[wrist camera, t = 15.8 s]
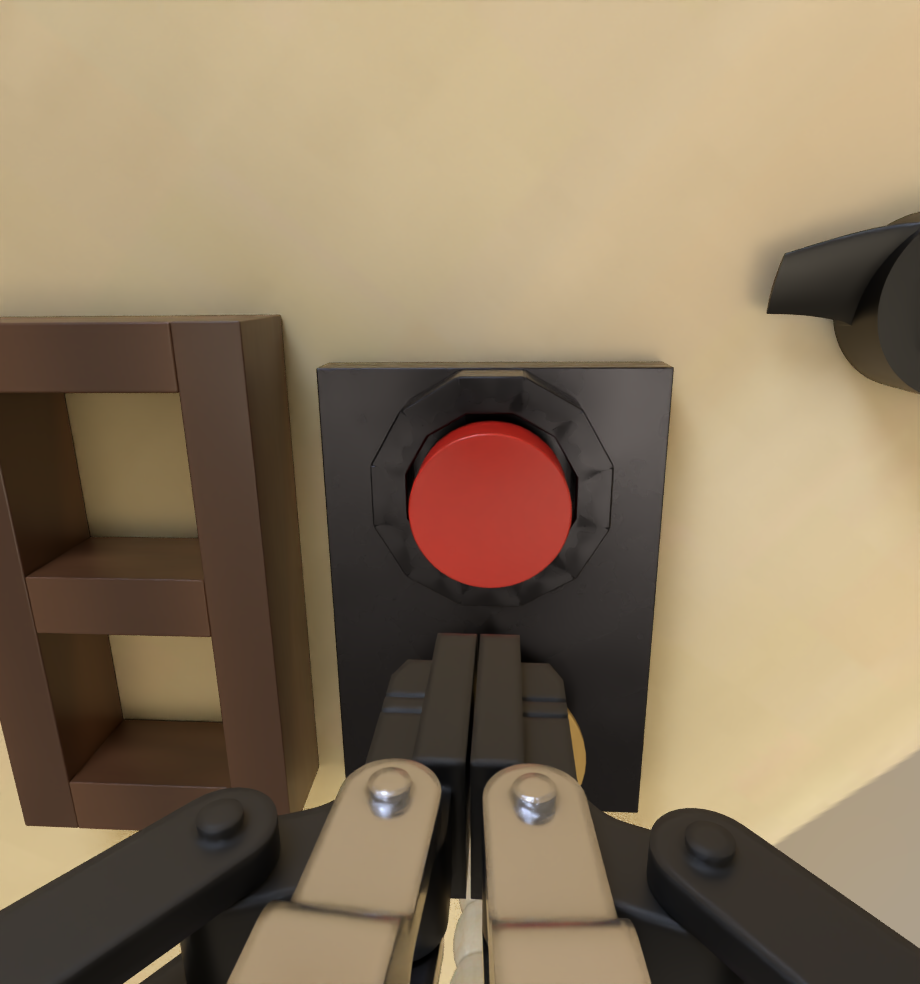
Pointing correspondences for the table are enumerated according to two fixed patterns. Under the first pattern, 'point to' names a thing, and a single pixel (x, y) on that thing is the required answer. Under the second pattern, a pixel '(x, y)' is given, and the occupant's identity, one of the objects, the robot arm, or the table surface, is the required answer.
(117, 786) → the rack
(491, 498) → the switch button
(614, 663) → the switch base
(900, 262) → the black winged round part
